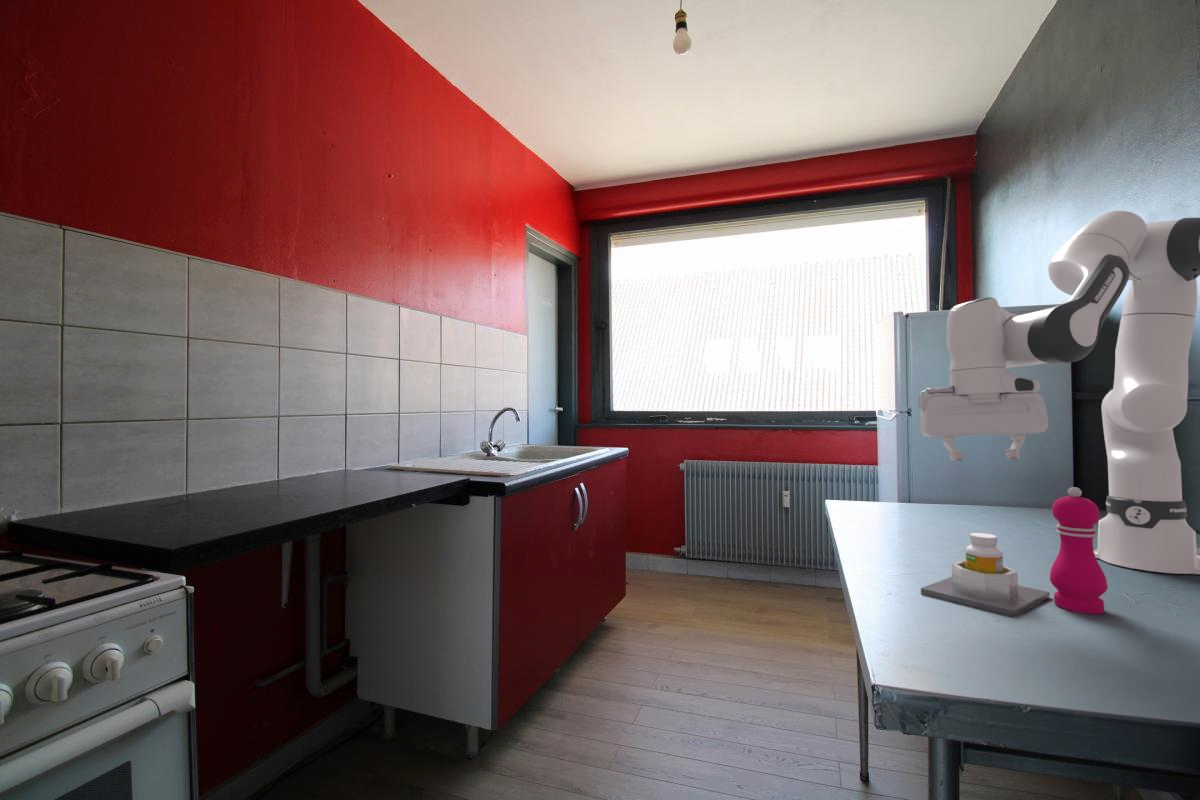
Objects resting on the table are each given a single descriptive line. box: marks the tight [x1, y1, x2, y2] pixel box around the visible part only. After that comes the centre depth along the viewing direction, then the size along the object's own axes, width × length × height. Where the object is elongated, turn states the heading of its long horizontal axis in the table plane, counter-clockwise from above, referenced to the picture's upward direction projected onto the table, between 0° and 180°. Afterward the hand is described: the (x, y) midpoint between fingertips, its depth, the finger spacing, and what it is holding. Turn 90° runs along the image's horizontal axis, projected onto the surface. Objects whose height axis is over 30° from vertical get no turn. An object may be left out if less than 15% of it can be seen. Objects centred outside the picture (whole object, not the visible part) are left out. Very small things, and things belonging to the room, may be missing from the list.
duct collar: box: [920, 560, 1051, 618], centre depth 96 cm, size 16×14×5 cm
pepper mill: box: [1049, 486, 1108, 615], centre depth 90 cm, size 7×7×20 cm
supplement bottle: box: [965, 532, 1004, 574], centre depth 97 cm, size 5×5×10 cm
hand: (984, 459), depth 100 cm, fingers open, 8 cm apart
